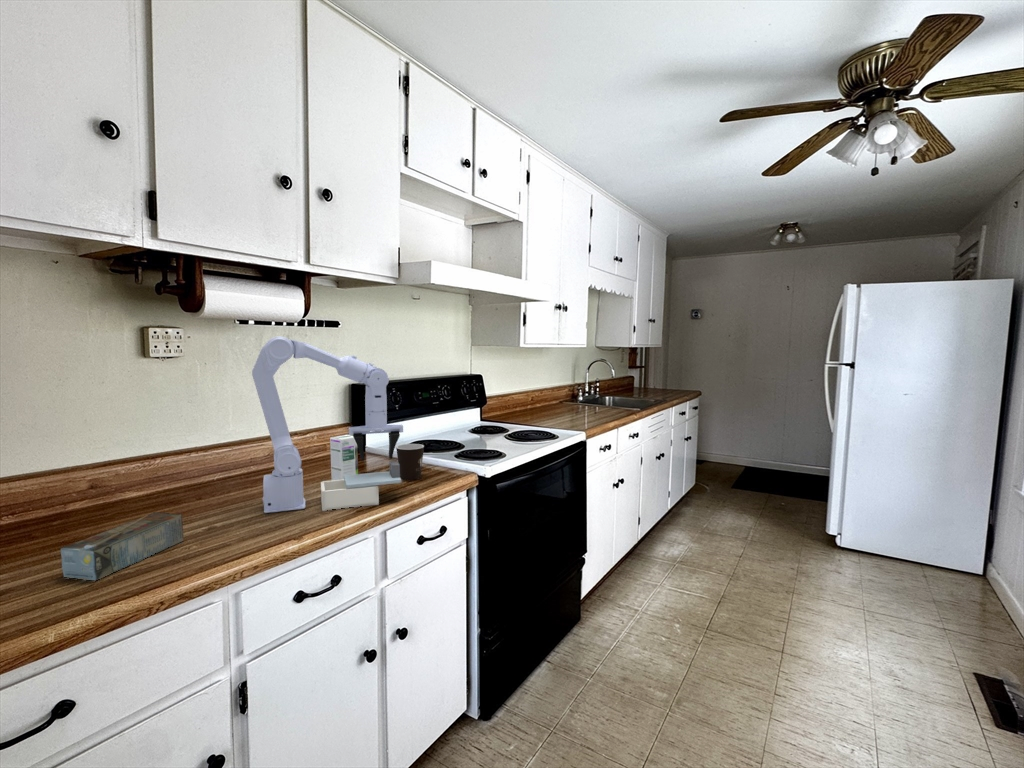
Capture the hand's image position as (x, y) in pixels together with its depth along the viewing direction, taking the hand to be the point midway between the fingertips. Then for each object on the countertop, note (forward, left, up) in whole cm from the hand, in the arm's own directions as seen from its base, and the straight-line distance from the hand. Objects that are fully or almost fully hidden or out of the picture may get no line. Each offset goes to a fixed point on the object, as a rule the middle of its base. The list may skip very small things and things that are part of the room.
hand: (376, 458), depth 137 cm
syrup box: (-8, +15, -11) cm, 20 cm away
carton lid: (-2, -4, -5) cm, 6 cm away
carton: (-8, -4, -10) cm, 13 cm away
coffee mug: (+13, +15, -11) cm, 23 cm away
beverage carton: (-51, -23, -11) cm, 57 cm away
